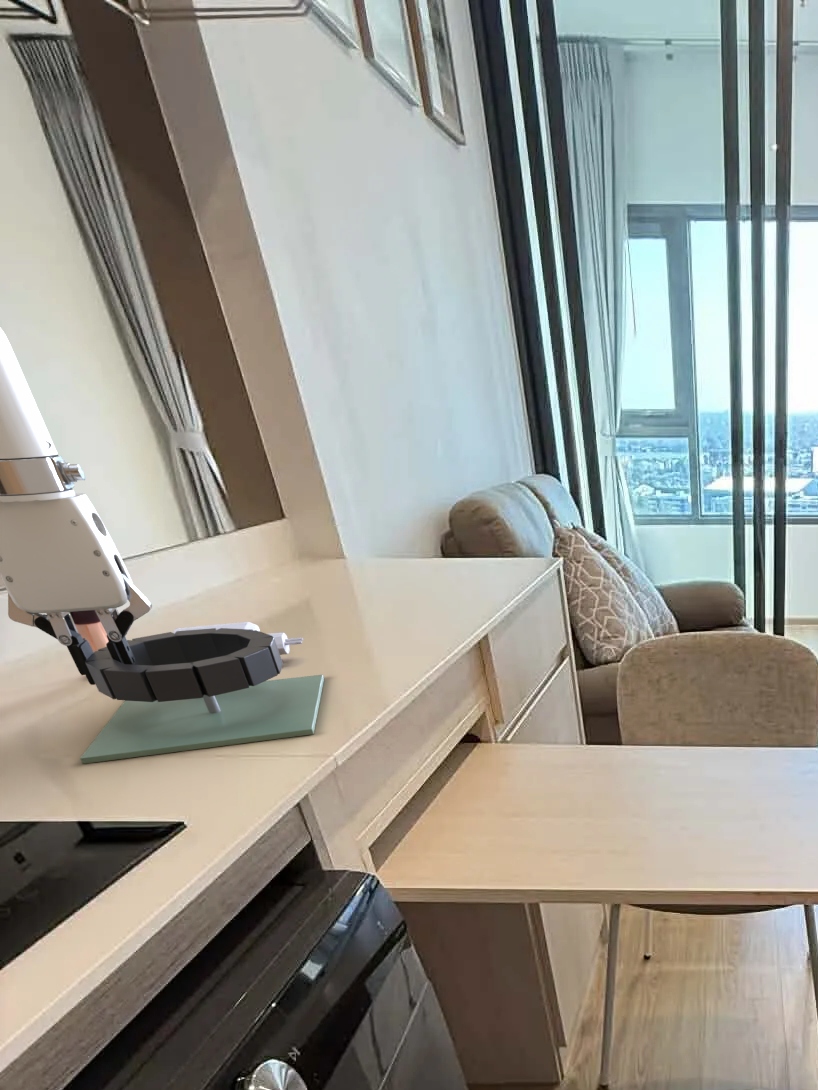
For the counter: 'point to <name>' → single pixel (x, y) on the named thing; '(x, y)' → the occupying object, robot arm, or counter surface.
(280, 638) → the charger
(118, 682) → the segmented bracelet
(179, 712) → the peg board
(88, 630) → the grandmother figurine
